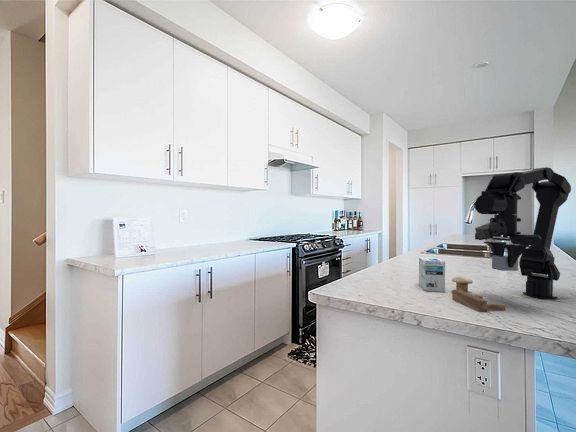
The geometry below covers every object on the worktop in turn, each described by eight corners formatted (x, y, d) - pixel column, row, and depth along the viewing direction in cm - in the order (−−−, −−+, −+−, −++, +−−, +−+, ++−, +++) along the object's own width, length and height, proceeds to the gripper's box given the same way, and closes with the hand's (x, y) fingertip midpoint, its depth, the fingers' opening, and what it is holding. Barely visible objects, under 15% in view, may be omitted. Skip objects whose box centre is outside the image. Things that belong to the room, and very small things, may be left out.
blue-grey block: (506, 268, 95) (507, 255, 95) (517, 270, 91) (518, 257, 91) (491, 268, 94) (492, 255, 94) (502, 270, 90) (502, 257, 90)
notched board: (477, 299, 96) (477, 289, 96) (507, 311, 84) (507, 300, 84) (452, 299, 96) (452, 290, 96) (478, 311, 84) (479, 301, 84)
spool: (464, 291, 106) (464, 277, 105) (476, 296, 100) (476, 281, 100) (448, 291, 105) (448, 277, 105) (459, 296, 99) (459, 281, 99)
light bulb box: (445, 292, 104) (445, 261, 104) (424, 291, 106) (424, 260, 106) (436, 285, 115) (437, 256, 115) (417, 284, 116) (418, 256, 116)
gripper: (460, 214, 101) (459, 261, 101) (506, 214, 82) (505, 272, 82) (491, 214, 102) (490, 261, 102) (543, 214, 83) (542, 271, 83)
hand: (504, 266), depth 92 cm, fingers closed on blue-grey block, 4 cm apart
